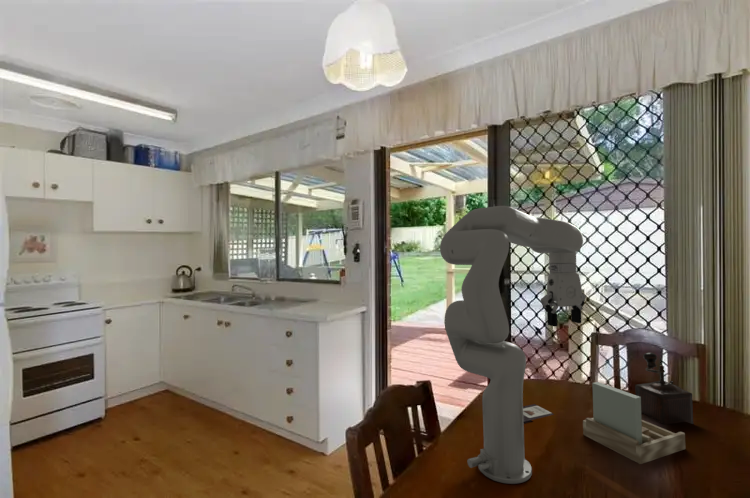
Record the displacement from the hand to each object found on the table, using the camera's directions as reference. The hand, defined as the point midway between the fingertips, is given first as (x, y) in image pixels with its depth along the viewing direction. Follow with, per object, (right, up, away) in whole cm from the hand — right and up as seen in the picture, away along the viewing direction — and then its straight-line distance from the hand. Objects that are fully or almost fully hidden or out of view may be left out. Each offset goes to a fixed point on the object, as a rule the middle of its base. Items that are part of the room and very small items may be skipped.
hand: (564, 324), depth 117 cm
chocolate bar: (-11, -31, +5) cm, 34 cm away
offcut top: (+11, -27, -14) cm, 32 cm away
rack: (+11, -30, -14) cm, 35 cm away
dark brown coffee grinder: (+31, -30, +3) cm, 43 cm away
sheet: (+6, -29, -16) cm, 34 cm away
